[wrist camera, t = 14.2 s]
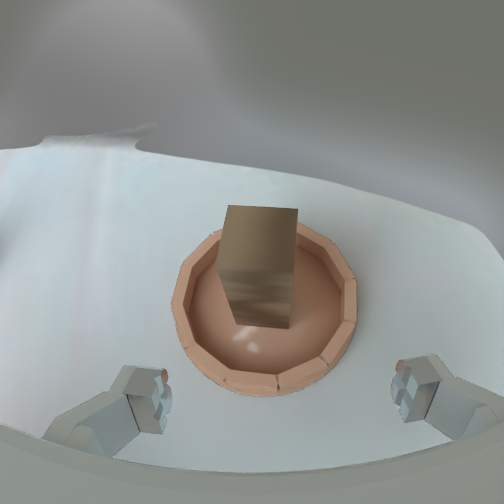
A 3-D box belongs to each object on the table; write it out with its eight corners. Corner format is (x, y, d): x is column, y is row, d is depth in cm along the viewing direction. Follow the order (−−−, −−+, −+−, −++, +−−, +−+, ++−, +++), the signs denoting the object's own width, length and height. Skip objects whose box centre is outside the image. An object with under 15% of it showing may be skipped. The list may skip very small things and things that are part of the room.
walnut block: (236, 324, 26) (214, 264, 18) (243, 278, 29) (228, 205, 20) (288, 329, 26) (293, 271, 17) (292, 282, 28) (297, 208, 20)
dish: (160, 380, 25) (148, 373, 22) (198, 227, 33) (192, 210, 31) (351, 403, 23) (359, 399, 20) (353, 238, 31) (359, 221, 29)
